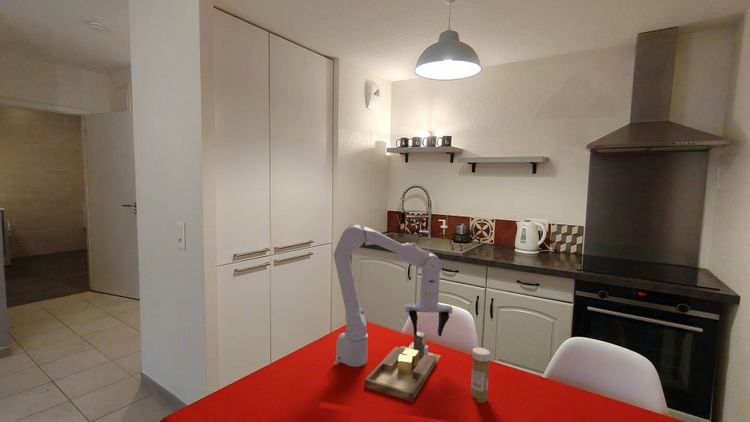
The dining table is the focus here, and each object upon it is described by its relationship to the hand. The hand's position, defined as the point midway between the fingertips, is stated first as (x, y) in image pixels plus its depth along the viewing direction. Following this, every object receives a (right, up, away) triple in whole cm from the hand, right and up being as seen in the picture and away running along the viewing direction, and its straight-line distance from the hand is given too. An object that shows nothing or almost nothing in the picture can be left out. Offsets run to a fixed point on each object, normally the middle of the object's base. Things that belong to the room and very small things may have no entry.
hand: (427, 334), depth 112 cm
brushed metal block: (-2, -9, +7) cm, 11 cm away
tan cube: (-6, -9, -1) cm, 11 cm away
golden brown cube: (-7, -9, -5) cm, 13 cm away
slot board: (-7, -10, -4) cm, 13 cm away
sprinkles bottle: (+12, -12, -16) cm, 23 cm away
